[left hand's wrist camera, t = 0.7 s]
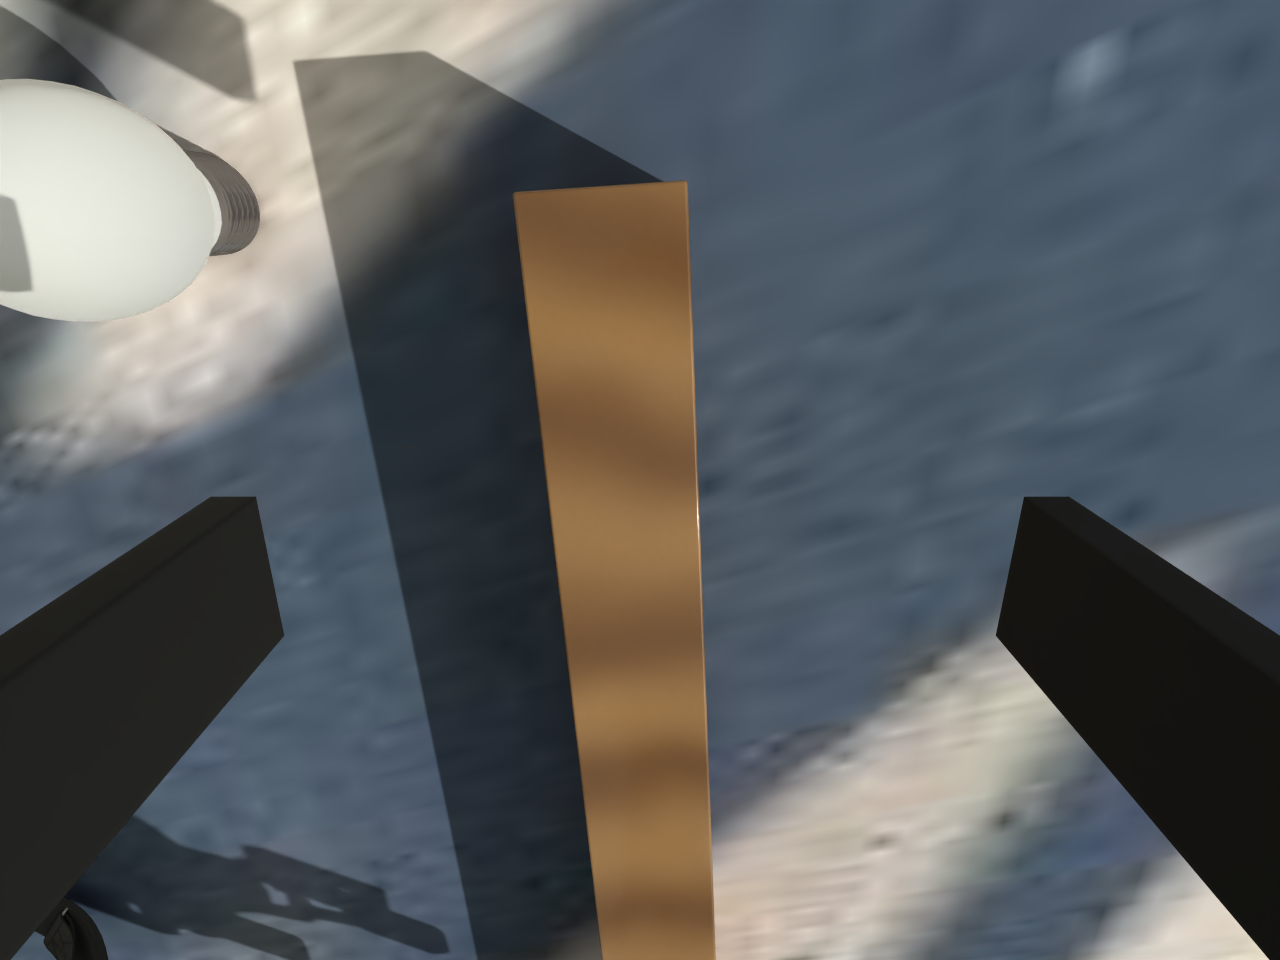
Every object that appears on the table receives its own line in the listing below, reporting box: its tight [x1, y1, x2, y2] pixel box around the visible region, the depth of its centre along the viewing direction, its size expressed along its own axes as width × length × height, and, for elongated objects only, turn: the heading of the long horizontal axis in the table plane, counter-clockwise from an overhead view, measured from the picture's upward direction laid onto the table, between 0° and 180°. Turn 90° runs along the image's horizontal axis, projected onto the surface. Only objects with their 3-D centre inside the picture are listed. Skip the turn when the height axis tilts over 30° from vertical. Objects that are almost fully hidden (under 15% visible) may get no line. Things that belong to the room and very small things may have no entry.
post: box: [513, 180, 716, 960], centre depth 34 cm, size 57×5×8 cm, turn 4°
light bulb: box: [0, 79, 260, 322], centre depth 23 cm, size 7×7×11 cm
